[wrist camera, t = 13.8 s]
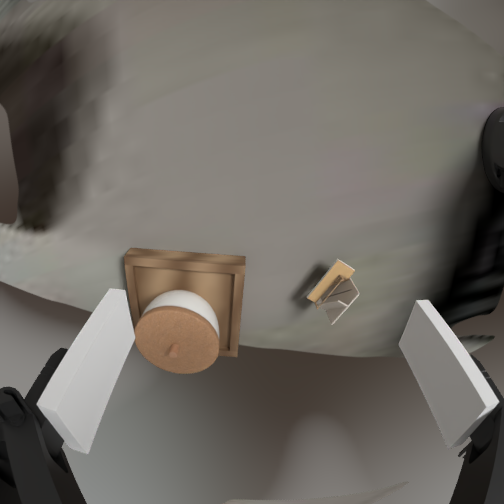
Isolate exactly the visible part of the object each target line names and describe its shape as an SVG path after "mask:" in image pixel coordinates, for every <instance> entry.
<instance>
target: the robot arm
mask: <svg viewBox="0 0 504 504" xmlns="http://www.w3.org/2000/svg"><path fill="white" fill-rule="evenodd" d="M482 153H483V162H484V167H485V171H486V174H487V177H488V179H489V181H490V182H491V184H492V185H493V187H494V188H495V189H497V190H498V191H500V192H502V193H504V107H500V108H498V109H496V110H495V111H494V112H493V113H492V114H491V116H490V117H489V119H488V121H487V123H486V126H485V130H484V135H483V144H482ZM134 340H135V334H134V330H133V326H132V321H131V316H130V312H129V307H128V302H127V297H126V292H125V290H120V289H109V291H108V292H107V293H106V295H105V296H104V298H103V299H102V300H101V302H100V303H99V305H98V306H97V308H96V309H95V310H94V312H93V313H92V315H91V316H90V318H89V319H88V321H87V322H86V324H85V325H84V327H83V328H82V330H81V331H80V333H79V334H78V336H77V337H76V339H75V340H74V342H73V344H72V345H71V347H70V348H69V349H64V348H60V349H59V350H58V351H56V352H55V353H54V354H52V356H51V357H50V359H49V360H48V362H47V363H46V365H45V367H44V368H43V369H42V371H41V374H40V375H39V376H38V377H37V379H36V380H35V382H34V384H33V386H32V387H31V389H30V390H29V392H28V394H27V396H26V397H25V399H23V397H22V396H21V394H20V393H19V391H17V390H16V389H15V388H12V387H3V388H1V389H0V504H87V503H86V501H85V499H84V497H83V495H82V493H81V491H80V489H79V487H78V484H77V482H76V480H75V478H74V475H73V473H72V471H71V468H70V466H69V463H68V461H67V458H66V455H65V453H64V451H63V449H62V448H61V447H62V445H63V442H64V441H65V442H66V444H67V445H68V446H69V447H70V448H71V449H74V450H76V451H79V452H82V453H85V454H88V453H89V450H90V448H91V445H92V442H93V440H94V437H95V434H96V432H97V429H98V426H99V424H100V421H101V418H102V416H103V413H104V411H105V408H106V406H107V403H108V401H109V398H110V396H111V393H112V391H113V388H114V386H115V384H116V381H117V379H118V376H119V374H120V372H121V369H122V367H123V365H124V362H125V360H126V358H127V356H128V353H129V351H130V349H131V347H132V344H133V342H134ZM398 345H399V347H400V349H401V351H402V352H403V354H404V356H405V358H406V360H407V362H408V364H409V366H410V368H411V370H412V372H413V374H414V376H415V378H416V380H417V382H418V384H419V386H420V388H421V390H422V392H423V394H424V396H425V398H426V400H427V403H428V405H429V407H430V409H431V411H432V413H433V415H434V418H435V420H436V422H437V424H438V427H439V429H440V431H441V434H442V436H443V438H444V441H445V443H446V446H447V448H448V449H450V448H453V447H456V446H458V445H461V444H462V443H463V442H464V441H465V440H466V439H467V438H468V437H469V436H470V438H471V440H472V441H471V442H470V443H469V444H468V445H467V446H466V447H465V448H464V449H463V450H462V451H461V452H460V453H459V455H458V456H459V457H460V456H461V455H462V454H463V453H464V452H466V455H464V457H463V458H464V462H463V465H462V469H461V472H460V475H459V479H458V482H457V484H456V487H455V490H454V493H453V496H452V498H451V501H450V503H449V504H504V398H503V397H502V395H501V394H500V392H499V390H498V389H497V387H496V386H495V384H494V382H493V381H492V379H491V378H489V377H490V376H489V375H488V373H487V372H485V369H484V367H483V366H482V364H481V363H480V361H478V360H477V359H476V358H475V357H474V356H472V355H469V354H468V352H467V351H466V350H465V348H464V347H463V345H462V344H461V343H460V341H459V340H458V338H457V337H456V336H455V334H454V333H453V332H452V330H451V329H450V327H449V326H448V325H447V323H446V322H445V321H444V320H443V318H442V317H441V316H440V314H439V313H438V312H437V310H436V309H435V308H434V307H433V305H432V304H431V303H430V302H429V300H416V301H415V304H414V307H413V309H412V312H411V315H410V317H409V320H408V322H407V325H406V327H405V330H404V332H403V335H402V337H401V339H400V342H399V344H398Z"/></svg>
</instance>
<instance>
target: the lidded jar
mask: <svg viewBox="0 0 504 504" xmlns="http://www.w3.org/2000/svg"><path fill="white" fill-rule="evenodd" d="M134 334H135V342H136V346H137V348H138V349H139V351H140V353H141V354H142V355H143V356H144V357H145V358H146V359H147V360H148V361H149V362H151V363H152V364H154V365H155V366H157V367H159V368H161V369H164V370H166V371H169V372H173V373H179V374H189V373H196V372H199V371H202V370H204V369H206V368H208V367H209V366H210V365H212V364H213V363H214V362H215V360H216V358H217V356H218V353H219V345H220V343H219V325H218V320H217V317H216V314H215V312H214V310H213V309H212V307H211V306H210V304H209V303H208V302H207V301H206V300H205V299H203V298H202V297H201V296H199V295H197V294H195V293H193V292H190V291H186V290H173V291H168V292H165V293H163V294H161V295H159V296H157V297H156V298H155V299H154V300H152V301H151V303H150V304H149V305H148V306H147V307H146V309H145V310H144V312H143V314H142V316H141V318H140V319H139V321H138V322H137V324H136V327H135V330H134Z"/></svg>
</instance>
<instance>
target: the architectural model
mask: <svg viewBox="0 0 504 504" xmlns="http://www.w3.org/2000/svg"><path fill="white" fill-rule="evenodd" d="M354 272H355V270H354V269H353V268H351V267H350V266H348V265H346V264H345V263H343V262H342V261H340V260H339V259H337V260H336V261H335V262H334V264H333V265H332V266H331V267H330V269H329V270H328V271H327V272H326V274H325V275H324V276H323V277H322V279H321V280H320V281H319V282H318V284H317V285H316V286H315V287H314V288H313V290H311V292H310V293H309V295H308V296H307V298H308V299H310V300H311V301H313V302H314V303H315V305H316V307H317V309H318V308H321V309H323V310H326V312H327V314H328V317H329V320H330V322H331V324H332V325H333V324H334V323H335V321H336V320H337V319H338V318H339V317H340V316H341V315H342V314H343V313H344V312H345V310H346V309H347V308H348V307H349V306H350V305H351V304H352V302H353V301H354V300H355V299H356V298H357V297H358V296H359V294H360V293H359V292H358V290H357V288H356V286H355V285H354V283H353V281H352V280H351V278H350V276H351V275H352V274H353V273H354Z"/></svg>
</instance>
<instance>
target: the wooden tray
mask: <svg viewBox="0 0 504 504" xmlns="http://www.w3.org/2000/svg"><path fill="white" fill-rule="evenodd" d="M124 263H125V272H126V280H127V287H128V294H129V301H130V308H131V314H132V320H133V325H134V330H135V327H136V324H137V322H138V321H139V319H140V318H141V316H142V314H143V312H144V310H145V309H146V307H147V306H148V305H149V304H150V303H151V301H152V300H154V299H155V298H156V297H157V296H159V295H161V294H163V293H165V292H168V291H173V290H186V291H190V292H193V293H195V294H197V295H199V296H201V297H202V298H203V299H205V300H206V301H207V302H208V303H209V304H210V306H211V307H212V309H213V310H214V312H215V314H216V317H217V320H218V325H219V343H220V345H219V353H218V356H231V357H237V352H238V342H239V331H240V320H241V309H242V298H243V287H244V276H245V256H233V255H219V254H206V253H192V252H179V251H166V250H153V249H140V248H130V249H129V251H128V252H127V253H126V255H125V256H124Z"/></svg>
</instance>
